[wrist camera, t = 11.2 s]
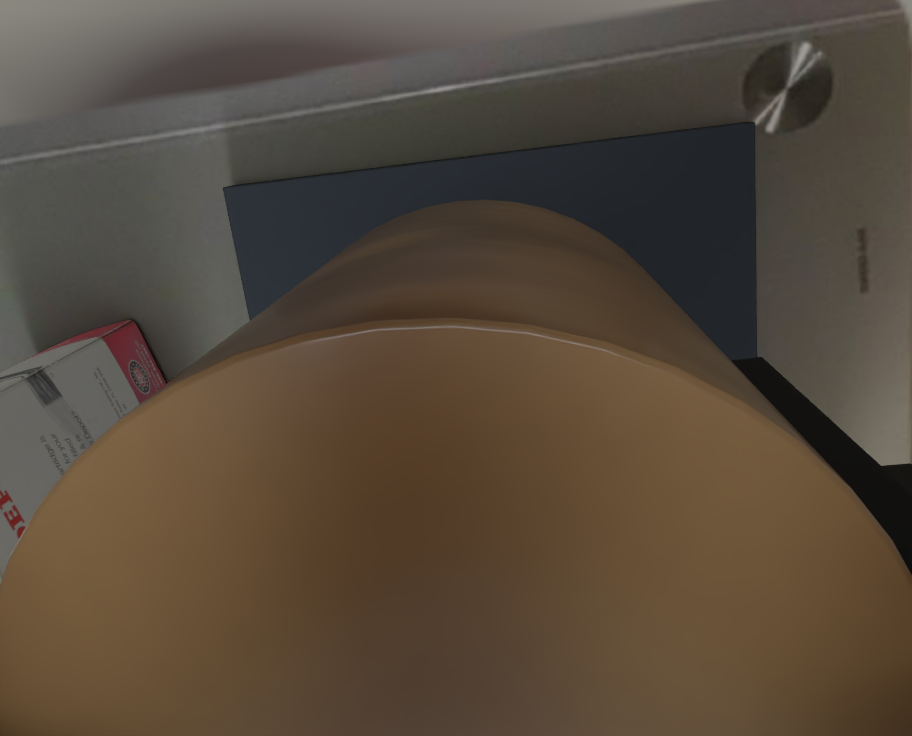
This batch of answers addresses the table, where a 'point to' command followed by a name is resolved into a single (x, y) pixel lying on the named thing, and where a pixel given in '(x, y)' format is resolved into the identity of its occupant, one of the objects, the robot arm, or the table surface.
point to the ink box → (64, 413)
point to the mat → (547, 186)
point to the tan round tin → (458, 522)
